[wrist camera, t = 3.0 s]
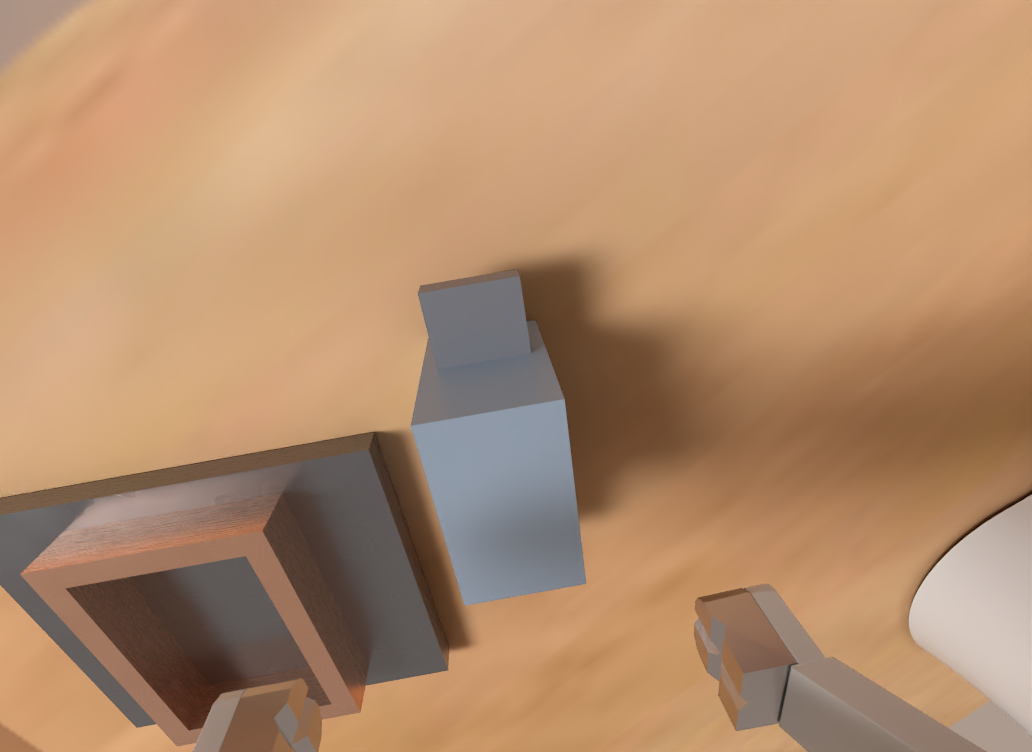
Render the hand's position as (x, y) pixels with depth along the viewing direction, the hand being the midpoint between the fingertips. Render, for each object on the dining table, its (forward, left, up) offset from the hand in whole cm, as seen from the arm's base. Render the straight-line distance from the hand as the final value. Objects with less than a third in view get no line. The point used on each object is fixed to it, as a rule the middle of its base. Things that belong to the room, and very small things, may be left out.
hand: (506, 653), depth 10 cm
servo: (0, 0, -10) cm, 10 cm away
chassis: (+13, +7, -10) cm, 18 cm away
